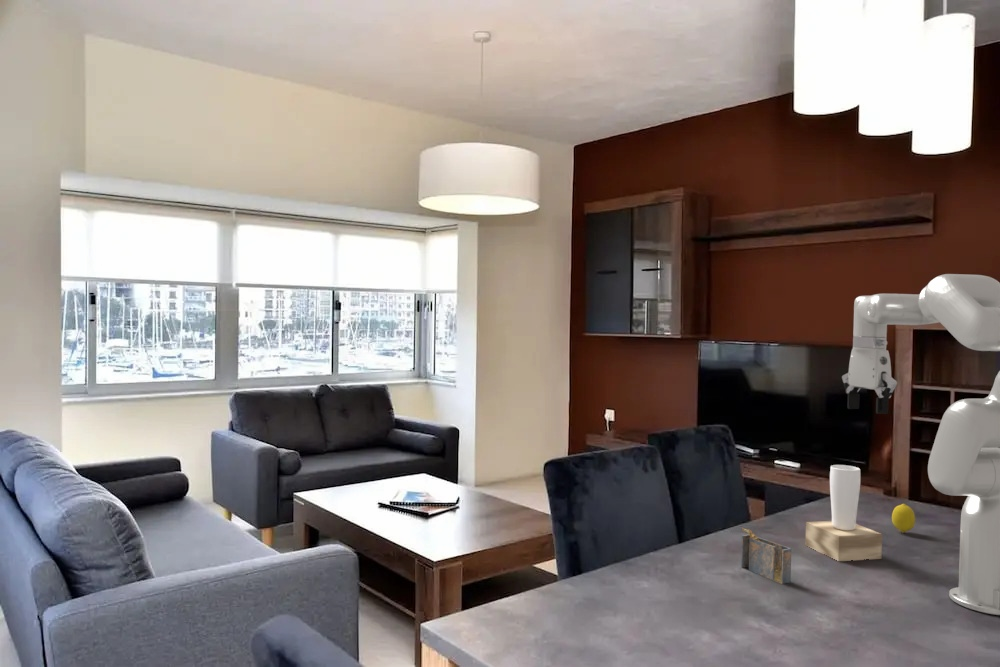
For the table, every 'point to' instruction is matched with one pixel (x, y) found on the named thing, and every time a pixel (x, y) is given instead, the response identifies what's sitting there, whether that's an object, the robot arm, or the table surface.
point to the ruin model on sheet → (766, 558)
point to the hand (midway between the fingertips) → (867, 411)
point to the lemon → (903, 518)
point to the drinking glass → (844, 496)
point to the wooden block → (843, 541)
